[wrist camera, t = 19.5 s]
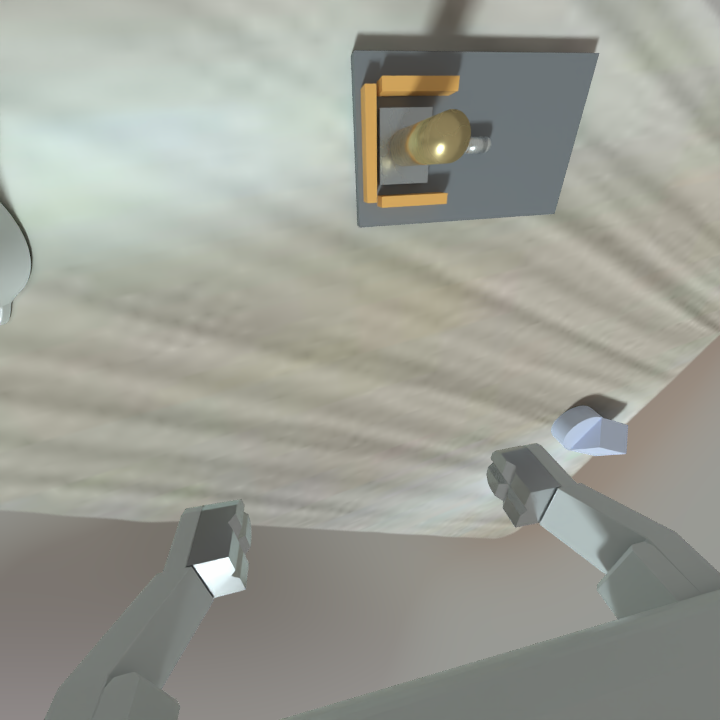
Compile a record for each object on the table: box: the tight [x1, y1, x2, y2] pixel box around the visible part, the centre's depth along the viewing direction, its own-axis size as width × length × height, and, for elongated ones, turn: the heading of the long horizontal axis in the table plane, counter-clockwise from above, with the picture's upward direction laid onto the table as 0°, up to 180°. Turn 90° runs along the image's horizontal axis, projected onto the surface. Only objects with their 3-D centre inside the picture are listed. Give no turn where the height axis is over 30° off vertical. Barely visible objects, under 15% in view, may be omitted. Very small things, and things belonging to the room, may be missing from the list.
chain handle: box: [377, 107, 492, 185], centre depth 26 cm, size 12×6×11 cm, turn 92°
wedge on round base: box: [551, 406, 628, 456], centre depth 60 cm, size 9×7×13 cm
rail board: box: [351, 50, 599, 227], centre depth 31 cm, size 24×14×4 cm, turn 92°
